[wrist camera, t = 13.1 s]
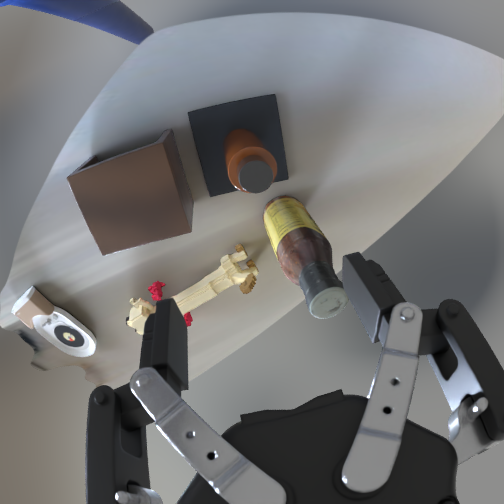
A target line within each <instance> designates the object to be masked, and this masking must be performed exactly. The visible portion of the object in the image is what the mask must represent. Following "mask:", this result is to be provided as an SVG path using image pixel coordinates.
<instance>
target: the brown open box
mask: <svg viewBox="0 0 504 504" xmlns="http://www.w3.org/2000/svg"><path fill="white" fill-rule="evenodd" d="M67 180H68V183H69V185H70V188H71V190H72V192H73V195H74V197H75V199H76V202H77V204H78V206H79V208H80V210H81V213H82V215H83V217H84V219H85V221H86V223H87V225H88V227H89V230H90V232H91V234H92V236H93V238H94V240H95V242H96V244H97V246H98V247H99V249H100V251H101V253H102V255H103V256H105V255H108V254H112V253H115V252H119V251H123V250H126V249H130V248H133V247H137V246H141V245H145V244H148V243H152V242H156V241H160V240H163V239H167V238H171V237H175V236H179V235H183V234H187V233H191V232H192V216H193V200H192V197H191V193H190V190H189V187H188V183H187V180H186V177H185V173H184V170H183V167H182V163H181V160H180V156H179V153H178V149H177V146H176V142H175V139H174V135H173V132H172V129H169V130H166V131H164V132H163V134H162V135H161V136H160V138H159V139H158V140H157V142H156V143H152V144H149V145H146V146H143V147H140V148H137V149H134V150H131V151H128V152H126V153H123V154H120V155H117V156H115V157H112V158H109V159H107V160H104V161H101V162H98V159H97V157H96V155H95V156H93V157H90V158H89V159H88V160H87V161H85V162H84V163H83V164H82V165H81V166H80V167H78V168H77V169H76V170H75V171H74V172H73V173H72V174H70V175H69V176H68V177H67Z"/></svg>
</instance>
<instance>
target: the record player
mask: <svg viewBox="0 0 504 504" xmlns="http://www.w3.org/2000/svg"><path fill="white" fill-rule="evenodd" d="M11 312H12V313H13V314H14V315H16V316H17V317H18V318H19V319H20V320H21V321H22V322H24V323H25V324H26V325H27V326H28V327H29V328H31V329H33V327H35V328H36V330H37V331H38V332H39V333H40V334H41V335H42V336H43V337H44V338H45V339H47V340H48V341H49V342H50V343H52V344H53V345H54V346H56V347H57V348H59V349H60V350H61V351H63V352H65V353H67V354H70V355H73V356H77V357H87V356H90V355H92V354H93V353H94V352H95V349H96V344H97V342H96V338H95V336H94V335H93V333H92V332H91V331H90V330H89V329H87V328H86V327H85V326H84V325H83V324H81V323H80V322H79V321H78V320H76V319H75V318H74V317H73V316H72V315H70V314H69V313H68V312H66V311H65V310H63V309H61V308H59V307H56V306H54V305H53V304H51V303H50V302H49V301H48V300H47V299H46V298H45V297H44V296H43V295H42V294H40V293H39V292H38V291H37V290H36V289H35V288H34V287H33V286H31V287H30V288H29V289H28V290H27V291H26V292H25V293H24V294H23V295H22V296H21V297H20V298H19V299H18V300H17V302H16V303H15V305H14V306H13V308H12V311H11Z"/></svg>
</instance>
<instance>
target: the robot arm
mask: <svg viewBox="0 0 504 504" xmlns="http://www.w3.org/2000/svg"><path fill="white" fill-rule="evenodd" d="M342 283H343V287H344V290H345V292H346V294H347V296H348V298H349V300H350V302H351V303H352V305H353V307H354V309H355V310H356V312H357V314H358V316H359V318H360V320H361V322H362V324H363V326H364V327H365V329H366V331H367V333H368V335H369V337H370V339H371V341H372V343H376V342H378V341H381V343H382V345H383V347H382V351H381V355H380V358H379V362H378V365H377V369H376V372H375V376H374V379H373V382H372V385H371V388H370V391H369V394H368V397H367V398H366V397H363V396H359V395H343V392H342V390H341V389H340V390H337V391H334V392H331V393H327V394H324V395H321V396H317V397H316V398H314V399H312V400H310V401H308V402H307V403H305V404H303V405H301V406H299V407H297V408H295V409H292V410H263V411H258V412H253V413H248V414H243V415H240V417H241V421H240V422H238V423H236V424H234V425H233V426H231V427H230V428H229V429H227V430H226V431H225V432H224V433H223V434H222V435H221V436H220V435H219V434H218V433H217V432H216V431H215V430H213V429H212V428H211V427H210V426H209V425H208V424H207V423H206V422H205V421H204V420H203V419H202V418H201V417H200V416H199V415H198V414H197V413H196V412H195V411H194V410H193V409H192V408H191V407H190V406H189V405H188V404H187V403H186V402H185V401H184V400H183V399H182V398H181V391H182V390H188V346H187V325H186V322H185V319H184V317H183V315H182V313H181V311H180V309H179V308H178V306H177V304H176V302H175V300H174V299H173V298H169V299H164V300H160V301H157V303H156V311H155V313H152V314H149V316H148V318H147V320H146V321H145V324H144V334H143V339H142V340H143V341H142V348H141V357H140V366H139V370H137V371H136V372H135V373H134V374H133V375H132V377H131V379H130V382H129V383H128V384H126V385H123V386H121V387H119V388H116V389H114V390H113V389H112V388H111V387H109V386H106V385H102V386H99V387H97V388H96V389H94V391H93V392H92V393H91V395H90V398H89V406H88V418H87V431H86V457H85V466H86V467H85V473H86V474H85V478H86V479H85V480H86V504H163V502H162V499H161V497H160V496H159V495H158V494H157V493H156V492H155V491H153V490H151V488H150V480H149V469H148V457H147V442H146V441H147V440H146V425H148V424H150V423H153V422H156V423H155V424H156V426H157V428H158V429H159V430H160V431H161V432H162V434H163V435H164V436H165V437H166V438H167V440H168V441H169V442H170V443H171V444H172V445H173V446H174V448H175V449H176V450H177V451H178V452H179V453H180V454H181V455H182V456H183V457H184V458H185V459H186V461H187V462H188V463H189V464H190V465H191V466H192V467H193V468H194V469H195V470H196V471H197V473H196V475H195V476H194V478H193V479H192V481H191V482H190V484H189V485H188V487H187V488H186V490H185V491H184V493H183V494H182V496H181V497H180V498H179V500H178V501H177V503H176V504H459V501H458V499H457V496H456V473H457V466H458V465H459V464H461V463H463V462H464V461H466V460H468V459H470V458H471V457H473V456H474V455H476V454H480V453H482V452H484V451H486V450H488V449H489V448H491V447H493V446H494V445H496V444H497V443H499V442H501V441H502V440H504V370H503V368H502V366H501V365H500V363H499V361H498V359H497V358H496V356H495V355H494V353H493V351H492V349H491V347H490V346H489V344H488V342H487V341H486V339H485V338H484V336H483V334H482V333H481V332H480V330H479V328H478V327H477V325H476V323H475V322H474V320H473V319H472V317H471V316H470V315H469V313H468V312H467V310H466V309H465V307H464V306H463V305H462V304H461V303H460V302H459V301H456V300H453V299H447V300H444V301H443V302H442V303H440V305H439V308H438V309H427V310H422V309H420V308H419V307H418V306H416V305H415V304H413V303H408V302H406V301H405V299H404V298H403V296H402V295H401V294H400V292H399V291H398V289H397V288H396V287H395V285H394V284H393V282H392V281H391V280H390V278H389V277H388V276H387V274H385V271H384V270H383V269H382V267H381V266H380V265H379V264H377V263H375V262H374V261H372V260H368V261H365V259H364V258H363V256H362V255H361V254H360V253H359V252H356V253H352V254H348V255H345V256H343V267H342ZM418 355H426V356H427V358H428V360H429V362H430V364H431V366H432V368H433V370H434V372H435V375H436V377H437V379H438V381H439V383H440V385H441V387H442V390H443V392H444V394H445V396H446V398H447V401H448V403H449V405H450V408H451V410H452V413H451V415H450V417H449V420H448V427H449V439H448V440H447V439H446V438H444V437H443V436H440V435H438V434H436V433H434V432H432V431H430V430H428V429H426V428H424V427H422V426H420V425H418V424H416V423H414V422H412V421H410V420H408V419H406V418H407V415H408V411H409V407H410V403H411V399H412V394H413V390H414V385H415V380H416V375H417V370H418V364H419V356H418Z"/></svg>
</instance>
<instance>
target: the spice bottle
mask: <svg viewBox="0 0 504 504" xmlns="http://www.w3.org/2000/svg"><path fill="white" fill-rule="evenodd" d="M223 153H224V158H225V162H226V167H227V171H228V176H229V179H230V181H231V183H232V184H233V185H234V186H235V187H236V188H237V189H239V190H241V191H243V192H247V193H260V192H263V191H265V190H266V189H268V188H269V187H270V185H271V184H272V182H273V181H274V179H275V177H276V174H277V163H276V160H275V158H274V157H273V155H272V154H271V153H270V152H269V150H268V149H267V148H266V147H265V145H264V144H263V143H262V142H261V141H260V139H259V138H258V137H257V136H256V134H254V133H253V132H252V131H250V130H247V129H236V130H234V131H232V132H230V133H229V134H228V135H227V136H226V137H225V139H224V141H223Z"/></svg>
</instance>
